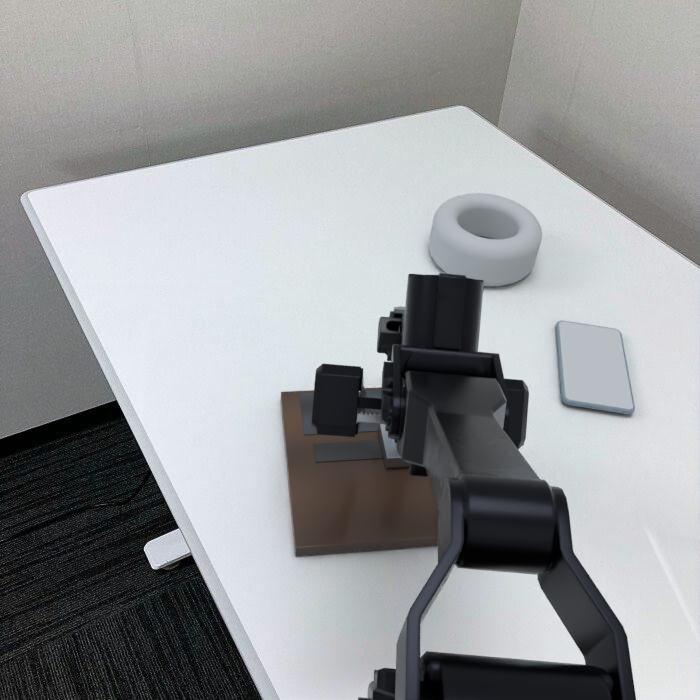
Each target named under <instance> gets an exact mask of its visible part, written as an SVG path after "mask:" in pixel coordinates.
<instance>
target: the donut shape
mask: <svg viewBox="0 0 700 700" xmlns="http://www.w3.org/2000/svg"><path fill="white" fill-rule="evenodd" d="M542 239H543V231H542V227H541V224H540V222H539V220H538V218H537V217H536V216H535V215H534V213H533V212H532V211H530V210H529V209H528V208H527V207H525V206H524V205H522V204H521V203H519V202H517V201H515V200H513V199H511V198H508V197H505V196H502V195H497V194H492V193H484V192H480V193H479V192H473V193H471V192H470V193H465V194H460V195H456V196H454V197H450V198H449V199H447V200H446V201H444V202H443V203H442V204H441V205H440V206H438V208H437V209H436V211H435V212H434V214H433V218H432V224H431V229H430V235H429V241H428V250H429V254H430V257H431V258H432V260H433V261H434V263H435V264H436V265H437V267H439V268H440V269H441V270H442V271H443V272H445V274H454V275H465V276H466V278H471V279H476V280H484V285H483V287H503V286H509V285H512V284H515V283H517V282H520V281H521V280H523V279H524V278H526V277H527V276H528V275H530V273H531V272H532V270H533V268H534V267H535V265H536V260H537V257H538V254H539V250H540V248H541V244H542V241H543V240H542Z"/></svg>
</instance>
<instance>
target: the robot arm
mask: <svg viewBox="0 0 700 700" xmlns="http://www.w3.org/2000/svg"><path fill="white" fill-rule="evenodd" d="M483 285H484V280H476V279H471V278H466V276H465V275H454V274H447V273H442V272H441V273H438V274H421V273H408V274H407V284H406V296H405V305H404V307H405V310H398V309H395V311H394V312H393V310H390V311H389V316H380V317H379V319H378V324H377V325H378V326H377V340H376V352H377V353H378V354H384V355H386V361H385V360H384V361H383V366H382V372H381V387H382V396H381V398H376V397H366V394H367V392H366V390H365V388H366V387H365V385H364V368H363V367H362V366H358V365H357V366H355V365H344V364H332V363H321V364H320V365H319V366H318V367H317V368H316V369H315V377H314V387H313V390H314V398H313V410H312V422H311V428H312V429H313V430H314V431H315V433H316V434H320V435H332V436H344V437H355V435H358V432H359V429H360V426H361V422H365V423H377V424H385V431H388V438H391V439H395V440H394V442H395V443H397V452H398V454H399V455H400V457H401V458H402V460H403V461H404V462H408V463H409V475H410V476H416V477H428V478H429V481H430V485H431V488H432V491H433V494H434V498H435V501H436V504H437V507H438V511H439V514H438V546H437V564H436V565H435V567H434V569H433V570H432V572H431V573H430V575H429V577H428V579H426V582H425V583H424V585H423V587H422V588H421V590H420V591H419V593H418V594H417V596H416V597H415V599H414V601H413V603H412V604H411V606H410V607H409V609H408V612H407V615H406V617H405V620H404V622H403V625H402V627H401V629H400V631H399V635H398V638H397V642H396V649H395V650H396V651H395V668H391V667H382V668H378V669H373V680H371V681H370V682H369V683H368V687H367V697H361V696H358V697H357V700H637V696H636V690H635V689H636V688H635V682H634V674H633V667H632V659H631V653H630V647H629V640H628V635H627V633H626V630H625V627H624V625H623V624H622V623H621V621H620V619H619V617H618V616H617V615H616V613H615V612H614V611H613V608H612V607H611V606H610V604H609V603H608V601H607V600H606V598H605V597H604V596H603V594H602V593H601V591H600V589H599V587H597V585H596V584H595V582H594V581H593V579H592V577H591V575H589V573H588V571H587V570H586V568H585V567H584V565H582V563H581V561H580V560H579V558H578V557H577V555H576V554H575V552H574V545H573V537H572V526H571V518H570V509H569V505H568V499H567V496H566V494H565V492H564V489H563V488H561V487H559V486H553V485H550V484H549V483H548V482H547V481H546V480H545V479H541V478H540V477H539V476H538V474H537V473H536V472H535V470H534V469H533V467H532V466H531V465H530V463H529V462H528V461H527V459H526V458H525V457H524V455H523V454H522V453H521V451H520V448H522V447H523V446H524V444H525V442H526V438H527V428H528V427H527V426H528V412H529V399H530V391H529V386H528V385H527V384H526V382H525V381H524V380H523V379H514V378H505V377H504V376H505V375H504V370H503V366H502V361H501V355H500V353H496V352H484V351H479V345H480V343H479V342H480V332H481V320H482V307H483V297H484V295H483V294H484V286H483ZM365 409H378V410H381V412H379V413H378V415H377V414H376V412H374V414H373V415H372V412H371V411H370V413H369V414H368V413H367V411H366V412H365ZM364 413H365V414H364ZM454 567H456V568H457V569H462V570H463V569H466V570H477V571H487V572H488V571H489V572H497V573H498V572H499V573H511V574H523V575H533V576H534V575H536V576H537V581H538V585H539V587H540V589H541V591H542V592H543V594H544V596H545V597H546V599H547V600H548V602H549V603H550V605H551V607H552V609H553V610H554V612H555V613H556V615H557V616H558V618H559V620H560V621H561V623H562V625H563V626H564V628H565V629H566V630H567V632H568V634H569V635H570V637H571V638H572V641H573V642H574V643H575V645H576V647H577V648H578V650H579V651H580V653H581V655H582V656H583V658H584V664H580V663H570V662H559V661H546V660H545V661H544V660H537V659H536V660H535V659H524V658H511V657H501V656H500V657H499V656H488V655H487V656H486V655H477V654H463V653H454V652H453V653H452V652H441V651H429V650H426V651H425V652H424V653H423V654H422V655H421V625H422V622H423V620H424V619H425V617H426V616H427V615H428V613H429V611H430V609H431V607H432V605H433V604H434V602H436V599H437V598H438V595H440V592H441V591H442V589H443V588H444V587H445V584H446V582H447V581H448V579H449V576H450V575H451V573H452V571H453V569H454Z"/></svg>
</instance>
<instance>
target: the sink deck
mask: <svg viewBox="0 0 700 700" xmlns="http://www.w3.org/2000/svg"><path fill="white" fill-rule="evenodd" d="M365 390H366V392H367V394H366V397H376V398H381V396H382V386H381V387H365ZM313 398H314V389H311V390H295V391H294V390H293V391H292V390H291V391H288V390H287V391H281V392H280V408H281V409H280V410H281V418H282V428H283V429H282V430H283V437H284V438H283V439H284V440H283V441H284V451H285V462H286V472H287V483H288V484H287V485H288V493H289V495H288V496H289V505H290V514H291V515H290V516H291V524H292V525H291V526H292V537H293V546H294V547H293V548H294V549H293V550H294V556H295V557H296V558H297V557H310V556H324V555H335V554H336V555H337V554H349V553H351V554H352V553H363V552H376V551H389V550H400V549H401V550H403V549H413V548H415V549H417V548H426V547H427V548H428V547H429V548H430V547H431V548H432V547H438V514H439V511H438V507H437V504H436V501H435V498H434V494H433V491H432V488H431V485H430V481H429V478H428V477H416V476H410V475H409V467H394V468H385V463H384V458H383V453H382V448H381V444H380V439H379V434H378V424H377V423H365V422H361V426H360V429H359V432H358V435H355V437H344V436H332V435H320V434H316V433H315V431H314V430H313V429H312V428H311V422H312V410H313ZM366 411H367V413H368V414H369V413H370V411H371V412H372V415H373V414H374V412H376V414H377V415H378V413H379V412H381V410H378V409H365V412H366ZM364 414H365V413H364Z"/></svg>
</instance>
